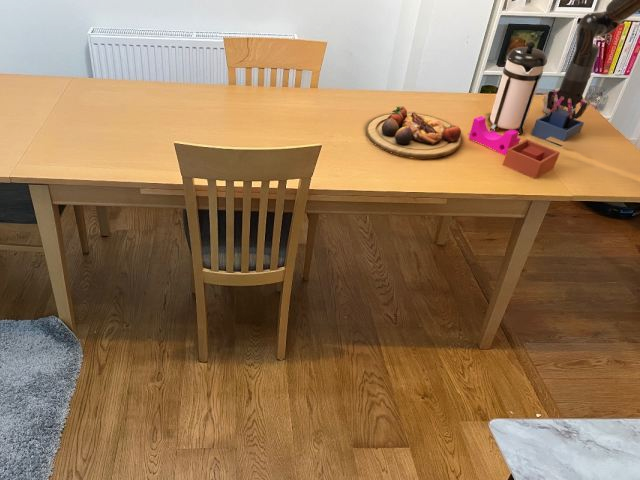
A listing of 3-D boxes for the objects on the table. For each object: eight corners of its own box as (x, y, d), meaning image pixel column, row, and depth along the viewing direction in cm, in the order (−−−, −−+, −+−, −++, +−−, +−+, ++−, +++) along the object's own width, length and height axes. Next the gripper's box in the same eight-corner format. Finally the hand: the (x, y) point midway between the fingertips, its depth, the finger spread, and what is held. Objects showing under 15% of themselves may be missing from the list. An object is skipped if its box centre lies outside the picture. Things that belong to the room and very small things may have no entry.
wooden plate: (475, 136, 206) (481, 114, 200) (434, 170, 187) (440, 146, 181) (394, 111, 221) (398, 89, 216) (349, 140, 202) (352, 117, 197)
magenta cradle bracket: (516, 150, 198) (523, 130, 194) (505, 155, 196) (512, 134, 191) (479, 134, 207) (485, 114, 203) (468, 139, 204) (474, 118, 200)
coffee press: (537, 131, 210) (568, 45, 191) (505, 139, 205) (533, 52, 185) (502, 112, 222) (527, 30, 203) (470, 120, 216) (493, 35, 197)
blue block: (568, 126, 205) (573, 112, 202) (561, 130, 203) (566, 116, 199) (555, 121, 208) (560, 107, 205) (547, 125, 205) (552, 111, 202)
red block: (539, 165, 190) (545, 151, 186) (531, 170, 187) (536, 155, 184) (525, 159, 193) (530, 145, 189) (517, 164, 190) (522, 150, 187)
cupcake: (539, 115, 221) (548, 89, 214) (537, 106, 227) (546, 80, 221) (565, 119, 219) (575, 93, 212) (563, 109, 226) (572, 83, 219)
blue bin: (578, 137, 207) (584, 122, 204) (561, 146, 202) (567, 131, 198) (547, 125, 214) (553, 111, 210) (530, 134, 208) (536, 119, 205)
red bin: (553, 167, 190) (559, 152, 186) (535, 179, 184) (541, 163, 180) (521, 154, 197) (526, 139, 193) (502, 164, 191) (507, 149, 187)
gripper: (551, 72, 196) (534, 120, 207) (592, 86, 188) (572, 135, 199) (562, 67, 200) (545, 115, 211) (603, 80, 192) (583, 129, 203)
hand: (558, 124), depth 205 cm, fingers closed on blue block, 5 cm apart
